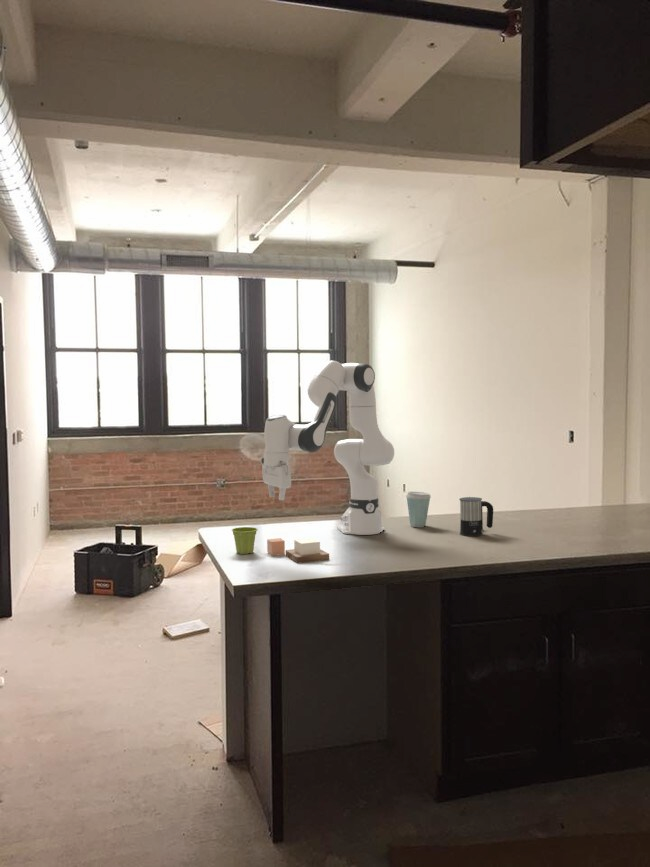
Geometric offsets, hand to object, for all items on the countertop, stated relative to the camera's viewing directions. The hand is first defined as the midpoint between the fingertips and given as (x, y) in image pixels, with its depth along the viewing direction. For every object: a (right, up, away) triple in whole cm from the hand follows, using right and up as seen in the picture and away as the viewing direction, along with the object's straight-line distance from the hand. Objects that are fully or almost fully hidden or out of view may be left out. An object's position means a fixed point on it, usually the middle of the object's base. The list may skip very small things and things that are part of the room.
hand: (276, 498), depth 253 cm
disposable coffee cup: (+58, -17, +52) cm, 80 cm away
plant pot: (-12, -21, +4) cm, 24 cm away
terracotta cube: (-1, -20, +2) cm, 20 cm away
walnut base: (+11, -21, -5) cm, 24 cm away
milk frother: (+78, -18, +38) cm, 88 cm away
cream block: (+11, -19, -5) cm, 22 cm away
